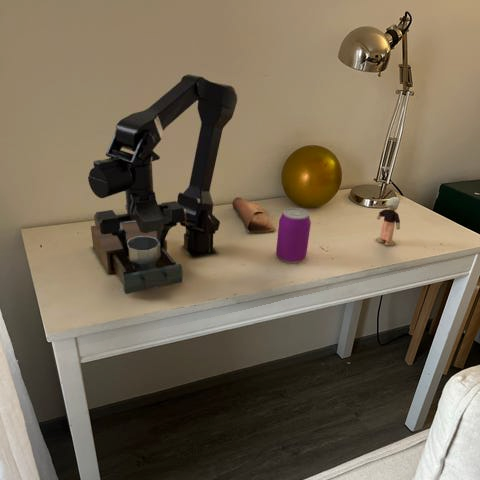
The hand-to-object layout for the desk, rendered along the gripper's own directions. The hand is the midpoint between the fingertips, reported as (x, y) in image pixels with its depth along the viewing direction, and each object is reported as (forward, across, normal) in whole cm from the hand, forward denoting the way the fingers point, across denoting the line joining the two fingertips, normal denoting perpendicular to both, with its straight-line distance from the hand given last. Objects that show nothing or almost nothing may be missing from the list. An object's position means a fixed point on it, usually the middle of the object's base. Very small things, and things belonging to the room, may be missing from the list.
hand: (143, 252), depth 113 cm
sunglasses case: (+7, +39, +20) cm, 44 cm away
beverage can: (+7, +37, -4) cm, 38 cm away
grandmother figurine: (+7, +66, -6) cm, 67 cm away
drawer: (+6, 0, -2) cm, 6 cm away
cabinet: (+6, 0, +12) cm, 14 cm away
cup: (+4, 0, 0) cm, 4 cm away
